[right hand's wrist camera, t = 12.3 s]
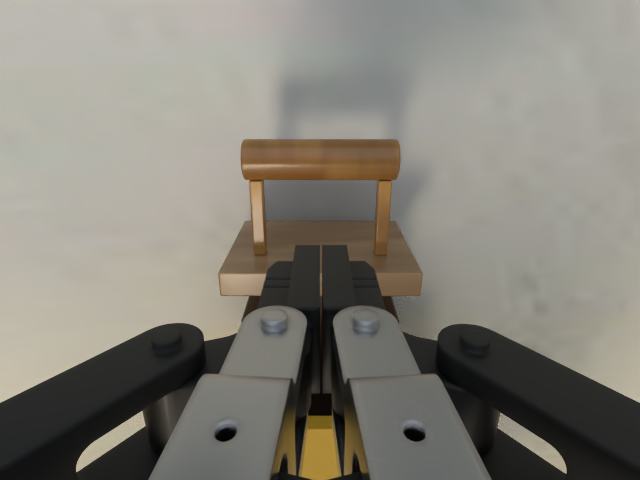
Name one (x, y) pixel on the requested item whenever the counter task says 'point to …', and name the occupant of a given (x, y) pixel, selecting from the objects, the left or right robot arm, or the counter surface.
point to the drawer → (320, 222)
